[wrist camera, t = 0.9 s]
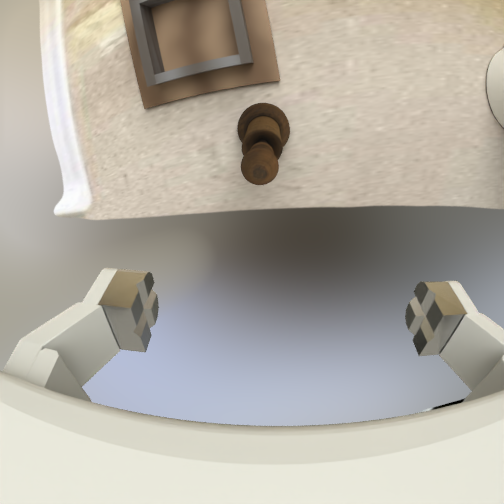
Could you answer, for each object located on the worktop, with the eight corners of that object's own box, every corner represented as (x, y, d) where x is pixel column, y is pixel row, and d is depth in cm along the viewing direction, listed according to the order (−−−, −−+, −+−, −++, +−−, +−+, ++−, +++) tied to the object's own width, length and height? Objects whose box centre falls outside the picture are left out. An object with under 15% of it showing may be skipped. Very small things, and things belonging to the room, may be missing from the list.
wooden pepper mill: (299, 122, 37) (319, 165, 22) (270, 158, 40) (269, 224, 25) (257, 93, 35) (247, 114, 20) (229, 132, 38) (200, 181, 23)
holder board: (255, -41, 23) (253, -54, 19) (279, 80, 34) (281, 81, 29) (122, -4, 26) (105, -10, 22) (147, 107, 36) (132, 114, 32)
